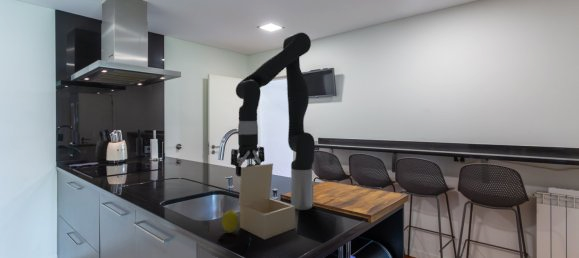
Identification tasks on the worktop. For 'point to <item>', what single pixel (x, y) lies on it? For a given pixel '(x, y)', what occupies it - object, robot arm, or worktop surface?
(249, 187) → the lid
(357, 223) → the worktop surface
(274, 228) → the carton
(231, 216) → the lemon
